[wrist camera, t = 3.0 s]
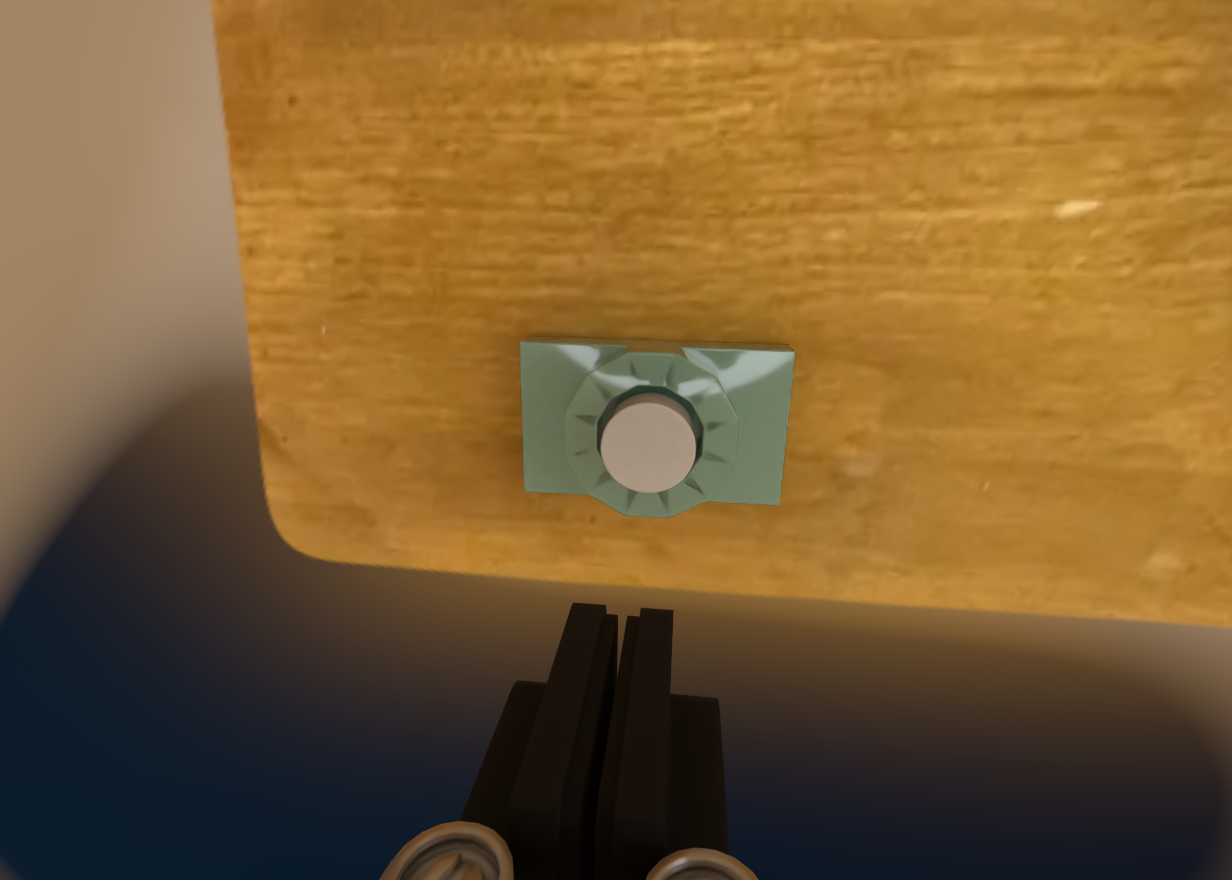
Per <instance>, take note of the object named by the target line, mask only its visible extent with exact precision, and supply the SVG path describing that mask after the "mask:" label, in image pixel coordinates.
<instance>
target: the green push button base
mask: <svg viewBox="0 0 1232 880" xmlns="http://www.w3.org/2000/svg"><path fill="white" fill-rule="evenodd" d="M519 350H520V381H521V411H522V442H523V473H524V491H526V492H544V493H562V494H580V495H591V496H592V497H594V498H596V499H597V500H599V501H601V502H602V503H604V504H606V505H607V506H609V507H611V508H613V509H614V510H616V511H618V512H619V513H621V514H623V515H626V516H637V517H654V518H669V517H670V518H671V517H673V516H675V515H677V514H680V513H682V512H684V511H686V510H688V509H691V508H693V507H695V506H697V505H699V504H702V503H704V502H706V501H707V502H725V503H743V504H761V505H779V504H780V495H781V485H782V476H783V466H784V457H785V447H786V438H787V429H788V419H789V410H790V400H791V391H792V382H793V372H794V363H795V353H796V352H795V350H794V349H793V348H792V347H791V346H790V345H788V344H758V343H727V342H696V341H665V340H634V339H603V338H571V337H540V336H528V337H527V338H525V339H523V340H522V341H520V343H519ZM647 392H653V393H660V394H664V395H666V396H669V397H671V398H673V399H675V400H676V401H677V402H679V403H680V404H681V405H682V406H683V407H684V408H685V409H686V410H687V412H688V413H689V415H690V416H691V419H692V421H693V424H694V428H695V437H696V455H695V460H694V463H693V465H692V468H691V470H690V471H689V473H688V474H687V475H686V477H685V478H684V479H683V480H682V481H681V482H679V483H678V484H677V485H675V486H673V487H672V488H670V489H667V490H665V491H661V492H655V493H643V492H638V491H634V490H631V489H629V488H627V487H625V486H623V485H621V484H620V483H619V482H617V481H616V480H615V479H614V478H613V477H612V476H611V475H610V473H609V472H608V470H607V469H606V467H605V465H604V462H603V459H602V455H601V438H602V434H603V431H604V429H605V426H606V424H607V421H608V419H609V417H610V415H611V413H612V412H613V410H614V409H615V408H616V407H617V406H618V405H619V404H620V403H621V402H622V401H623V400H625V399H627V398H628V397H631V396H633V395H636V394H639V393H647Z"/></svg>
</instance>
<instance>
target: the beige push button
mask: <svg viewBox="0 0 1232 880" xmlns="http://www.w3.org/2000/svg"><path fill="white" fill-rule="evenodd" d="M601 455H602V459H603V462H604V465H605V467H606V469H607V470H608V472H609V473H610V475H611V476H612V477H613V478H614V479H615V480H616V481H617V482H619V483H620V484H621V485H623V486H625V487H627V488H629V489H631V490H634V491H638V492H643V493H655V492H661V491H665V490H667V489H670V488H672V487H673V486H675V485H677V484H678V483H679V482H681V481H682V480H683V479H684V478H685V477H686V475H687V474H688V473H689V471H690V470H691V468H692V465H693V463H694V460H695V455H696V437H695V428H694V424H693V421H692V419H691V416H690V415H689V413H688V412H687V410H686V409H685V408H684V407H683V406H682V405H681V404H680V403H679V402H677V401H676V400H675V399H673V398H671V397H669V396H666V395H664V394H660V393H653V392H647V393H639V394H636V395H633V396H631V397H628V398H627V399H625V400H623V401H622V402H621V403H620V404H619V405H618V406H617V407H616V408H615V409H614V410H613V412H612V413H611V415H610V417H609V419H608V421H607V424H606V426H605V429H604V431H603V434H602V438H601Z"/></svg>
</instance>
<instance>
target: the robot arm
mask: <svg viewBox="0 0 1232 880" xmlns="http://www.w3.org/2000/svg"><path fill="white" fill-rule="evenodd" d="M672 633H673V610H663V609H651V608H641V612H640V617H637V616H628V617H627V621H626V628H625V634H624V640H623V646H622V652H621V658H620V666H619V671H618V677H617V645H618V615H611V614H606V605H598V604H585V603H573V604H572V606H571V609H570V613H569V616H568V619H567V622H566V625H565V628H564V631H563V634H562V638H561V641H560V644H559V647H558V650H557V653H556V656H555V660H554V662H553V666H552V669H551V672H550V675H549V678H548V681H547V683H542V682H531V681H520V680H518V681H517V682H515V684H514V686H513V688H512V690H511V692H510V695H509V697H508V700H507V702H506V705H505V707H504V710H503V712H502V715H501V717H500V720H499V722H498V725H497V727H496V730H495V732H494V735H493V738H492V740H491V743H490V745H489V748H488V750H487V753H486V755H485V758H484V760H483V763H482V765H481V768H480V770H479V773H478V776H477V778H476V781H475V783H474V786H473V788H472V791H471V794H470V796H469V798H468V801H467V803H466V806H465V808H464V811H463V814H462V816H461V819H460V821H458V822H452V823H446V824H441V825H438V826H436V827H433V828H432V829H429V830H427V831H424V832H422V833H421V834H419V835H418V836H417V837H416V838H414V839H413V840H411V841H410V842H409V843H407V844H406V845H405V846H404V847H403V848H402V849H401V850H400V852H399V853H398V854H397V855H396V857H395V858H394V859H393V860H392V861H391V863H390V864H389V866H388V867H387V869H386V870H385V872H384V874H383V875H382V876H381V878H380V880H758V879H757V877H756V876H755V875H754V874H753V872H752V871H751V870H750V869H748V868H747V867H746V866H744V865H743V864H742V863H740V862H739V861H738V860H736V859H735V858H733V857H731V856H729V843H728V828H727V813H726V798H725V783H724V769H723V754H722V739H721V724H720V710H719V700H718V698H710V697H699V696H688V695H677V694H670V683H671V658H672Z"/></svg>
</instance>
